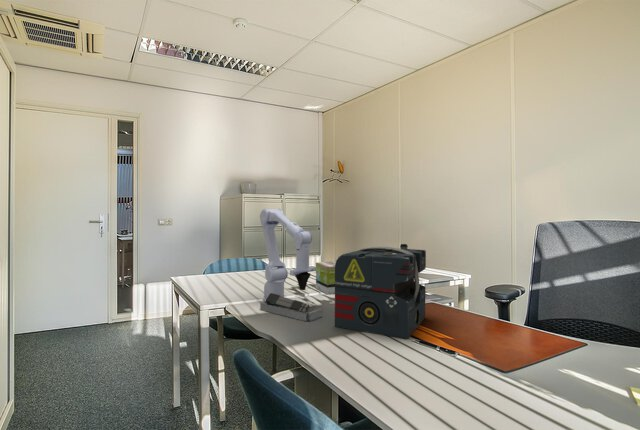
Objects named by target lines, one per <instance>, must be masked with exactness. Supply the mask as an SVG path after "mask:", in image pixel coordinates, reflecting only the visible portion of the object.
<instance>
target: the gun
mask: <svg viewBox="0 0 640 430" xmlns="http://www.w3.org/2000/svg"><path fill="white" fill-rule="evenodd" d="M264 301H266V302H267V303H268V304H272V305H277V306H281V307H285V308H289V309H294V310H298V311H302V312H306V313H309V310H310V305H309V304H308V303H304V302H303V301H300V300H297V299H291V298H288V297H285V296H284V297H281V296H280V295H277V294H273V293H270V294H269V296H268V297H267V299H266V300H264Z"/></svg>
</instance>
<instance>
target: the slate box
mask: <svg viewBox="0 0 640 430" xmlns="http://www.w3.org/2000/svg"><path fill="white" fill-rule="evenodd" d="M259 307H260V308H259V309H260V311H264V312H266V313H267V312H268V313H272V314H275V315H279V316H283V317H287V318H291V319H295V320H297V321H302V322H312V321H314V320H317V319H319V318H322V317H323V309H322V308H317V309H315V310H312V311H308V312H307V313H306V312H302V311H298V310H294V309H289V308H285V307H281V306H277V305H272V304H268V303H267V302H266V301H265V300H263V301H260V306H259Z"/></svg>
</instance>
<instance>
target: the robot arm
mask: <svg viewBox="0 0 640 430" xmlns="http://www.w3.org/2000/svg"><path fill="white" fill-rule="evenodd" d="M259 219H260V225H261V227H262V231H263V232H262V233H263V237H264V242H265V243H264V244H265V248H266V249H265V250H266V254H267V260H268V263H267V265H266V266H265V267H264V271H265V273H264V277H265V278H264V279H265V280H266V282H265V283H264V287H263V294H264V295H263V298H262V300H263V301H265V300H266V299H267V297H268V296H269V294H270V293H273V294H277V295H280V296H281V297H285V282H286V280H287V279H288V275H290V276H294V277H295V279H296V280H297V284H298V287H299V290H301V291H306V288H307V284H308V281H309V279H310V277H311V273H312V272H316V266H310V244H311V243H312V242H313V235H312V233H311V231H310V230H304V229H303V227H301V226H300V225H298V222H296V221H294V222H291V220H289V218H288V217H286V215H285V213H284V210H282V209H281V208H273V209H272V208H263V209H262V210H261V212H260V214H259ZM279 224H280V225H281V226H283V227H284V228H285V231H286V233H287V234H288V235H289V236H290V237H292V239H293V243H294V247H295V249H296V252H295V253H296V254H295V257H296V258H295V260H296V261H295V268H293V269H291V270H289V271H288V270H287V268H286V264H285V263H284V262H283V261H282V260H281V259H280V253H279V249H278V243H277V239H276V234H275V228H276V227H277V226H278V225H279Z"/></svg>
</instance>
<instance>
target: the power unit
mask: <svg viewBox="0 0 640 430" xmlns="http://www.w3.org/2000/svg"><path fill="white" fill-rule="evenodd" d="M399 246H400V247H399V248H398V247H391V246H369V247H365V248H360V249H358V250H355V251H351V252H346V253H343V254H341V255H339V256H338V257H337V259H336V260H335V262H334V263H335V294H334V327H335V328H342V329H347V330H352V331H353V330H354V331H358V332H364V333H370V334H375V335H381V336H387V337H393V338H397V339H403V340H409V338H410V337H411V336H412V335H413V333H414V332H415V331H416V330H417V328H419V326H420V325H421V324H422V322H423V321H424V320H425V318H426V286H425V285H423V284H421V283H420V276H419V274H420V273H422V272H423V271H425V269H426V268H427V259H426V258H427V256H426V255H427V251H426V250H425V249H415V248H408V247H409V246H408V244H407V243H401V244H400V245H399Z"/></svg>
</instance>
